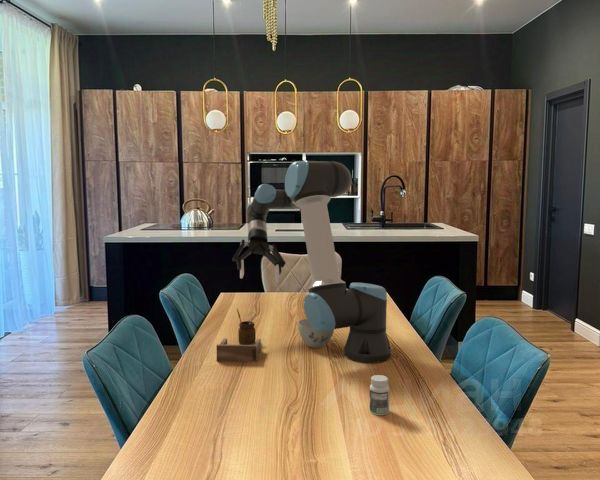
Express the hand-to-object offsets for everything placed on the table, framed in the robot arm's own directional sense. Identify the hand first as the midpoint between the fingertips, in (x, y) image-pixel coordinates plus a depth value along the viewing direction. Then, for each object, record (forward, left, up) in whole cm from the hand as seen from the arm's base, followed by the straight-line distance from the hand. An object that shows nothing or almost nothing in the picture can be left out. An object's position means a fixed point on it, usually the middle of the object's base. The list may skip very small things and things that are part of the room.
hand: (260, 278), depth 187 cm
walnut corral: (-19, +17, -20) cm, 33 cm away
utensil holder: (-8, +9, -21) cm, 24 cm away
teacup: (-22, -11, -21) cm, 32 cm away
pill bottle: (-74, +4, -21) cm, 77 cm away
